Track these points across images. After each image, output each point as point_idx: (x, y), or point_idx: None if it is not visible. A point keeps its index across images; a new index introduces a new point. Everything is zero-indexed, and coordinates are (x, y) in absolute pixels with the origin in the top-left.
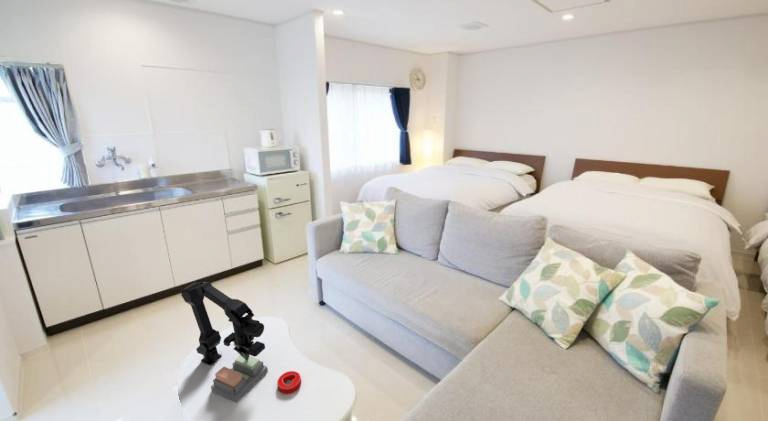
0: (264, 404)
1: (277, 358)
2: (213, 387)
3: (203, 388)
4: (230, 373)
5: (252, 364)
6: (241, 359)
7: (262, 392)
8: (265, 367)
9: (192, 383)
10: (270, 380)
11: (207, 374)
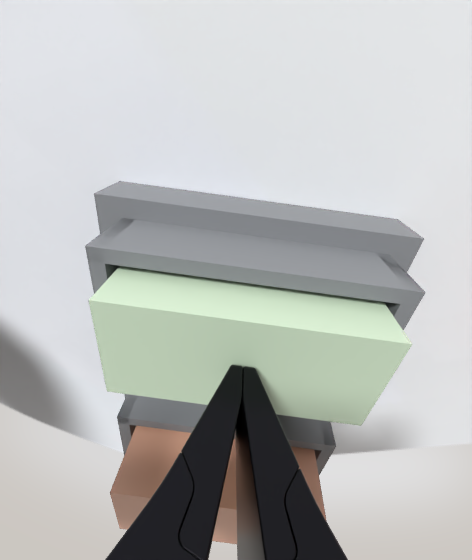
0: (463, 413)
1: (454, 3)
2: None
3: (89, 397)
4: (230, 522)
5: (352, 406)
6: (174, 380)
7: (425, 368)
8: (409, 253)
9: (10, 387)
10: (453, 291)
11: (7, 337)
